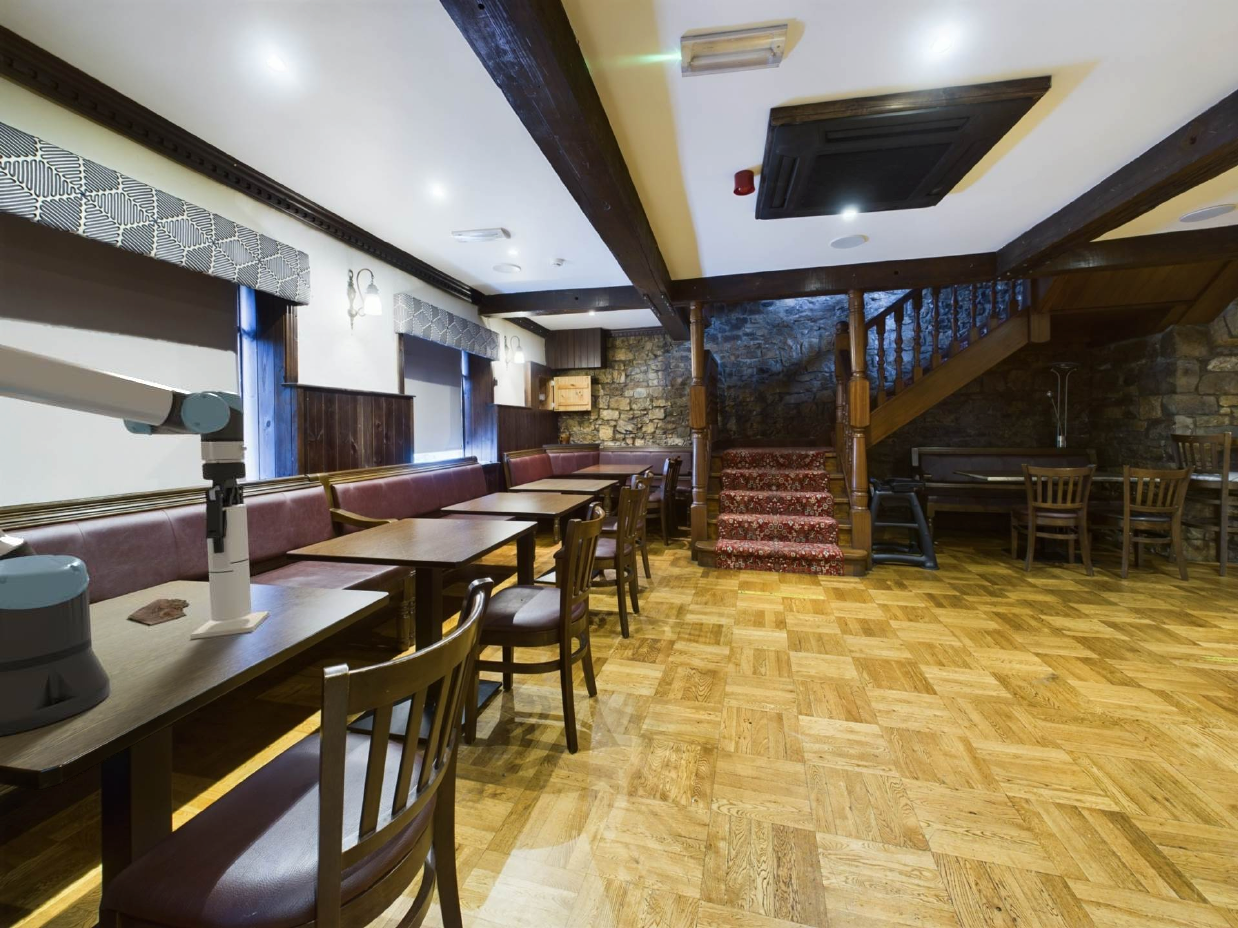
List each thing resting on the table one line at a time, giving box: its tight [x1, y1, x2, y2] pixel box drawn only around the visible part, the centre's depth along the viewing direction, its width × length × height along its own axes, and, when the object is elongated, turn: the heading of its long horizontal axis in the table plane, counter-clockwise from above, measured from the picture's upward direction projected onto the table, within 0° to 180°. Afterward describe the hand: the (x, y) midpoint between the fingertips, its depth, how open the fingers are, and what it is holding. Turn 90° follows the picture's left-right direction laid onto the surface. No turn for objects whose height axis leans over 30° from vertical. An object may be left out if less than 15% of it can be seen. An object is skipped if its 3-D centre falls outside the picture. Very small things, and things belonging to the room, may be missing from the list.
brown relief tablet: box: [127, 598, 190, 627], centre depth 123 cm, size 26×11×1 cm, turn 38°
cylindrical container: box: [206, 503, 252, 622], centre depth 111 cm, size 7×7×25 cm
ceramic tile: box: [190, 610, 270, 640], centre depth 112 cm, size 11×11×1 cm
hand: (229, 562), depth 111 cm, fingers closed on cylindrical container, 7 cm apart
